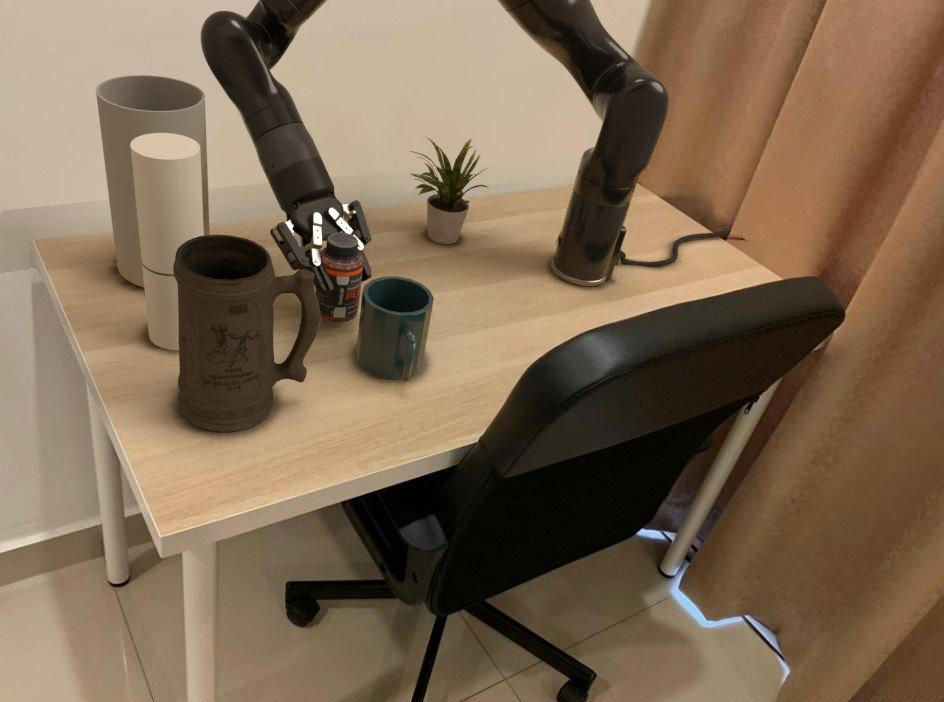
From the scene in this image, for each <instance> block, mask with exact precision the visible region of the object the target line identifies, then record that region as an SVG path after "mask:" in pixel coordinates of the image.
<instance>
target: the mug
mask: <svg viewBox="0 0 944 702" xmlns="http://www.w3.org/2000/svg"><path fill="white" fill-rule="evenodd" d="M434 301H435V297H434V295H433V293H432V292H431V290H430V288H428V287H427V286H425V285H424V284H423V283H421V282H419V281H417V280H414V279H411V278H407V277H404V276H403V277H402V276H396V275H395V276H394V275H393V276H391V275H389V276H388V275H387V276H381V277H380V276H379V277H376V278H373V279H371V280H369V282H367V283H366V284H364V286H363V289H362V293H361V301H360V312H359V321H358V331H357V340H356V350H355V356H356V357H355V359H356V361H357V364H358V365H359V367H360V368H361V369H362V370H363V371H364V372H366V373H367V374H370V375H372V376H374V377H376V378H380V379H385V380H402V381H403V382H409V381H410V380H411V377H412V376H415V375H416V374H417V373H419V371H421V368H422V367H423V364H424V363H423V362H424V358H425V352H426V345H427V341H428V334H429V330H430V329H429V328H430V322H431V318H432V311H433V306H434Z"/></svg>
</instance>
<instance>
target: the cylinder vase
mask: <svg viewBox="0 0 944 702" xmlns="http://www.w3.org/2000/svg"><path fill="white" fill-rule="evenodd" d="M95 95H96V101H97V111H98V118H99V127H100V128H99V129H100V133H101V134H100V136H101V143H102V152H103V160H104V168H105V175H106V178H105V179H106V184H107V193H108V201H109V211H110V217H111V227H112V234H113V235H112V236H113V242H114V244H113V245H114V252H115V259H116V266H117V267H116V268H117V270H118V272H119V273H120V275H121V276H122V277H123V278H124V280H126V281H127V282H129V283H132V284H133V285H134V286H138V287H141V288H144V279H143V269H142V259H141V249H140V239H139V229H138V218H137V208H136V198H135V188H134V177H133V167H132V157H131V146H130V143H131V141H132V140H133V139H135V138H137V137H139V136H142V135H145V134H151V133H172V134H178V135H183V136H186V137H189V138H191V139H193V140H195V141H196V142H197V143H199V145H200V152H201V177H202V202H203V227H204V236H206V235H211V234H210V233H211V231H210V205H209V203H210V202H209V201H210V200H209V176H208V175H209V174H208V173H209V172H208V148H207V147H208V145H207V143H208V142H207V116H206V95H205V93H204V91H203V90H202V89H201V88H200V87H197V85H194V84H192V83H189V82H187V81H184V80H181V79H177V78H172V77H167V76H160V75H149V74H147V75H146V74H136V75H123V76H116V77H112V78H109V79H107V80H104V81H102V82H101V83H99V84H98V85H97V86H96V88H95Z"/></svg>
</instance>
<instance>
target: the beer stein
mask: <svg viewBox="0 0 944 702" xmlns="http://www.w3.org/2000/svg"><path fill="white" fill-rule="evenodd" d="M173 274H174V277H175V279H176V281H177V283H178V315H179V350H178V363H179V365H178V366H179V373H178V377H177V388H178V389H179V391H178V402H177V403H178V407H179V410H180V412H181V414H182V416H184V418H186V419H187V420H188V421H189V422H190V423H191V424H193V425H195V426H196V427H198V428H201V429H204V430H208V431H212V432H236V431H242V430H247V429H249V428H253V427H254V426H256V425H257V424H259V423H262V422H263V421H264V420H265V419H266V418H267V417H268V415H270V413H271V412H272V409H273V406H274V391H273V387H274V386H275V385H276V384H277V383H278V382H281V381H282V380H291V381H294V382H298V383H304V381H305V380H306V378H307V373H308V369H307V368H306V366H305V365H304V360H305V357H306V355H307V354H308V352H309V350H310V349H311V347H312V345H313V343H314V342H315V340H316V338H317V335H318V331H319V329H320V324H321V319H322V318H321V315H320V307H319V302H318V299H317V296H316V289H315V286H314V275H315V274H314V273H313V272H311V271H308V270H305V269H298V270H296V272H294V273H293V274H290V275H280V276H277V275H276V272H275V269H274V265H273V261H272V257H271V255H270V252H268V250H267V249H266V248H265V247H263V246H262V245H261V244H258V243H257V242H255V241H253V240H250V239H249V238H245V237H241V236H235V235H229V234H210V235H206V236H199V237H196V238H193V239H190V240H188V241H186V242H185V243H183V244H182V245H181V246H180V247H179V248H178V249H177V252H176V256H175V262H174V265H173ZM283 294H284V295H286V294H293V295H295V296H296V297H297V299H298V301H299V302H300V311H301V312H300V323H299V327H298V331H297V335H296V338H295V341H294V343H293V345H292V348H291V350H290V351H289V354H288V355H287V357H286V358H285V359H284V361H282V362H281V363H277V362H276V361H275V353H274V323H275V322H274V320H275V319H274V303H275V301H276V299H277V298H278V297H279V296H281V295H283Z"/></svg>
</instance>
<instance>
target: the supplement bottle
mask: <svg viewBox="0 0 944 702" xmlns="http://www.w3.org/2000/svg"><path fill="white" fill-rule="evenodd" d="M320 252H321V264H320V265H324V267H325V269H326V271H327V274H328V276H329V278H330V280H331V282H332V285H333V287H334V290H335V291H334V292H333V293H331V294H330V295H327V296H325V297H324V296H322V295H321V293H320V294H319V292H318V291H317V290H316V289H315V293H316V296H317V299H318V302H319V307H320V315H321V318H320V319H323V320H325V321H328V322H331V323H338V324H340V323H347V322H349V321H352V320H354V318H356V317H357V315H358V311H359V305H360V297H361V295H360V294H361V287H362V282H361V280H362V272H363V262H364V261H363V257H362V255H361V254H360V253H359V252H358V240H357V238H356V237H355V236H353V235H351V234H348V233H342V232H339V233H333V234H330V235H329V236H328V238H327V241H326V246H325V247H324V248H323V249H322V250H320Z"/></svg>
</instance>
